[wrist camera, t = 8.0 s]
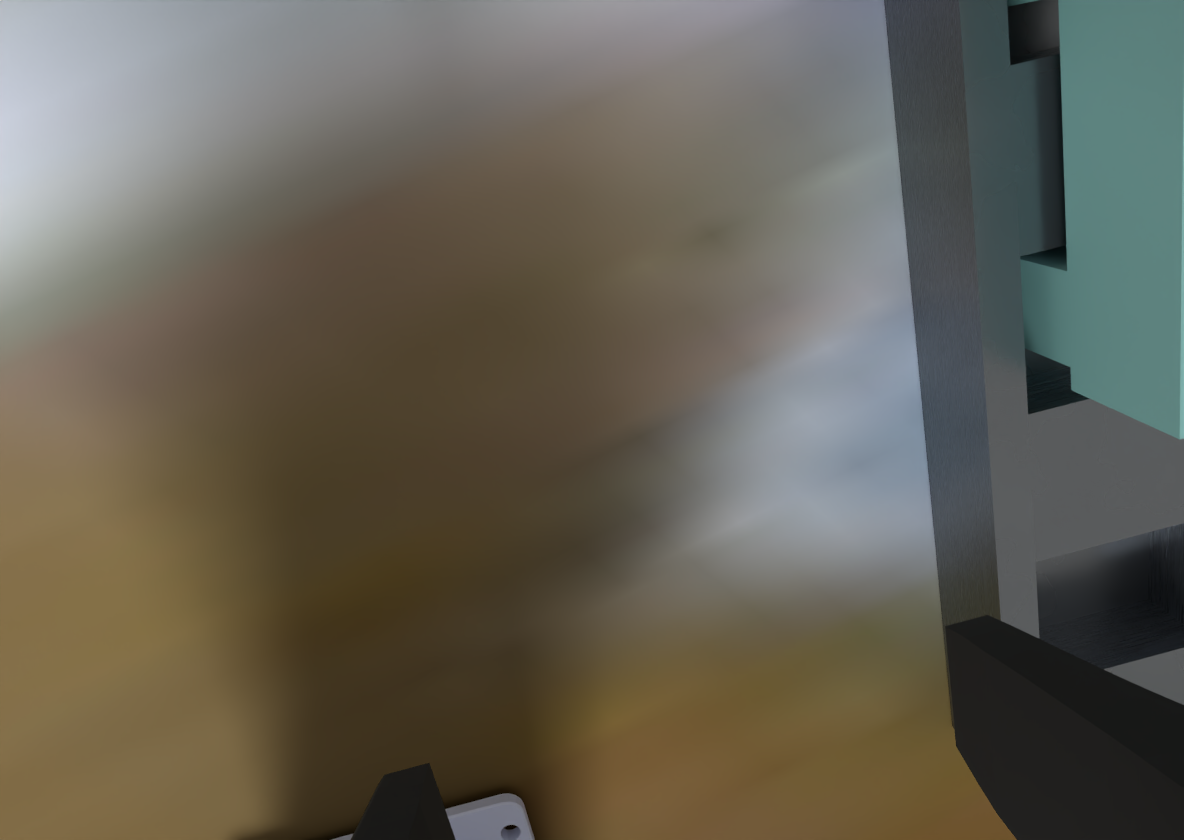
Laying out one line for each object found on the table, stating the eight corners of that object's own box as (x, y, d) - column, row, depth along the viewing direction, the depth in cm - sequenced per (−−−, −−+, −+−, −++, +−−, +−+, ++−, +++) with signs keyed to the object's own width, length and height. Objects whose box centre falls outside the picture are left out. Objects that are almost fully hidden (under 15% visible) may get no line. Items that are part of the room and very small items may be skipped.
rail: (1153, 672, 25) (1238, 741, 23) (952, 726, 25) (1013, 803, 22) (1153, -349, 17) (1286, -439, 15) (857, -286, 17) (934, -366, 14)
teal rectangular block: (1120, 331, 21) (1329, 400, 16) (1005, 360, 21) (1179, 438, 16) (1113, -159, 17) (1377, -271, 12) (977, -128, 17) (1186, -229, 12)
